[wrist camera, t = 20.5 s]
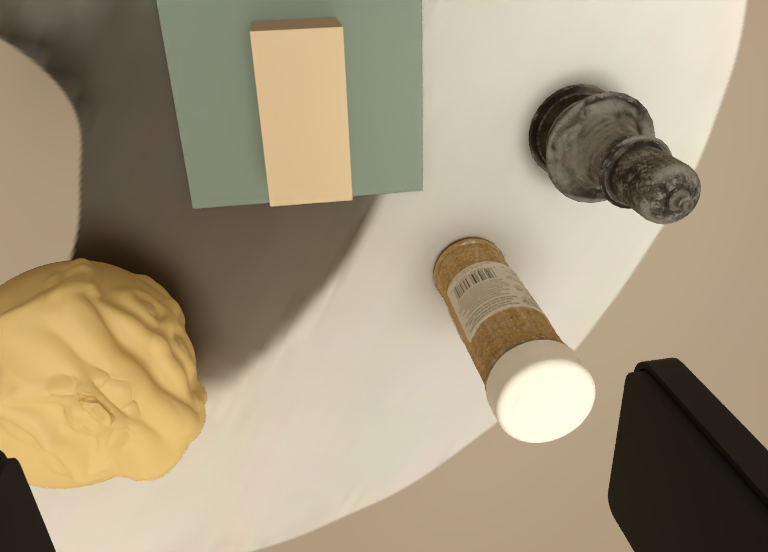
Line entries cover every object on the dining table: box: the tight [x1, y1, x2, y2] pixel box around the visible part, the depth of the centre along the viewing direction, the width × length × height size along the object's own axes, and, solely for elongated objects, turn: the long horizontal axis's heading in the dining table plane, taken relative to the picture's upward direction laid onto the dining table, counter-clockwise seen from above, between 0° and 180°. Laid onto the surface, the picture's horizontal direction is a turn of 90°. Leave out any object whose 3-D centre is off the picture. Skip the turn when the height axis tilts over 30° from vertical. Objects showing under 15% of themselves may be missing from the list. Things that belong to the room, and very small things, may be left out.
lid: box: [156, 0, 423, 209], centre depth 32 cm, size 13×11×5 cm
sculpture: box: [0, 258, 207, 489], centre depth 34 cm, size 12×12×11 cm
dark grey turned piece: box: [529, 84, 701, 224], centre depth 32 cm, size 6×6×12 cm
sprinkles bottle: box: [433, 238, 595, 443], centre depth 34 cm, size 5×5×13 cm
